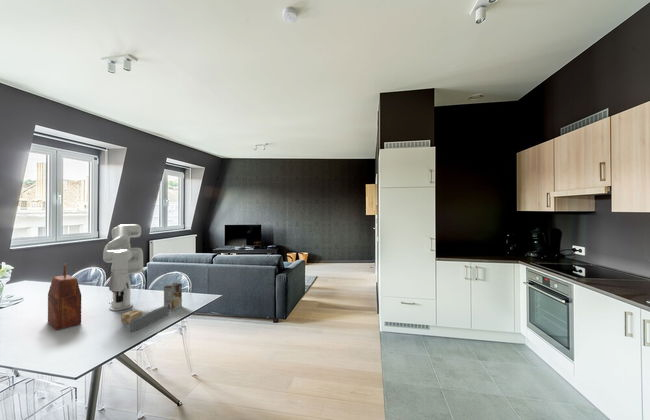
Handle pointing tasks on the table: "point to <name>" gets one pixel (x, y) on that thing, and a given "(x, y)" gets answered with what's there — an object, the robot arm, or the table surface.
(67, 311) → the wooden peaked block
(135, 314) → the oak block
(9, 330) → the table surface
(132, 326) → the gray flat board
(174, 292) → the coffee box
